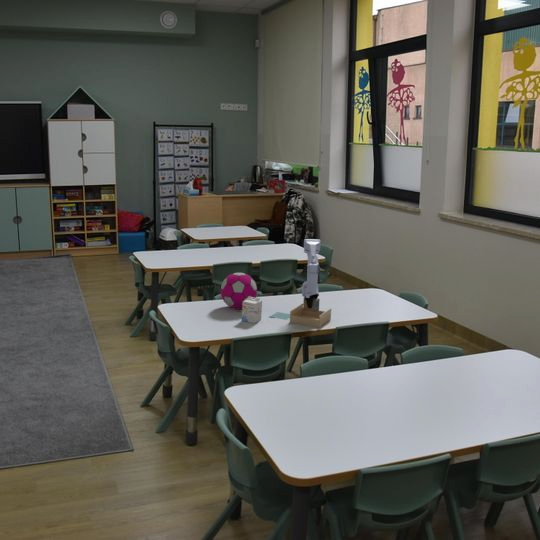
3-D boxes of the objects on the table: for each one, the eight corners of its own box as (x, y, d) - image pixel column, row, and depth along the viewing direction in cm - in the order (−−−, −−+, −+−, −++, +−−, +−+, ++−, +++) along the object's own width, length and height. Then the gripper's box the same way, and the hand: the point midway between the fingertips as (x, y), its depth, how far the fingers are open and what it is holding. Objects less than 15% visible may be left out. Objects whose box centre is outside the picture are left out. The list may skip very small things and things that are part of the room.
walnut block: (306, 308, 392) (306, 296, 391) (318, 310, 389) (319, 298, 387) (303, 310, 388) (303, 298, 387) (316, 312, 385) (316, 300, 383)
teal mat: (277, 312, 404) (277, 312, 404) (294, 315, 400) (294, 314, 400) (269, 317, 395) (269, 316, 395) (286, 320, 390) (286, 319, 390)
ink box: (241, 320, 386) (242, 298, 383) (248, 317, 394) (249, 295, 390) (254, 323, 382) (255, 300, 379) (261, 319, 390) (262, 297, 387)
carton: (301, 314, 402) (302, 303, 400) (330, 319, 394) (331, 308, 393) (289, 322, 386) (290, 311, 384) (319, 327, 378) (320, 315, 377)
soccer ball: (249, 315, 397) (250, 278, 392) (214, 310, 404) (215, 274, 399) (261, 305, 418) (262, 271, 413) (228, 301, 424) (228, 267, 419)
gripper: (314, 287, 377) (313, 311, 380) (323, 282, 390) (322, 305, 393) (302, 286, 380) (301, 309, 383) (312, 280, 393) (310, 303, 396)
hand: (311, 307), depth 388 cm, fingers closed on walnut block, 4 cm apart
